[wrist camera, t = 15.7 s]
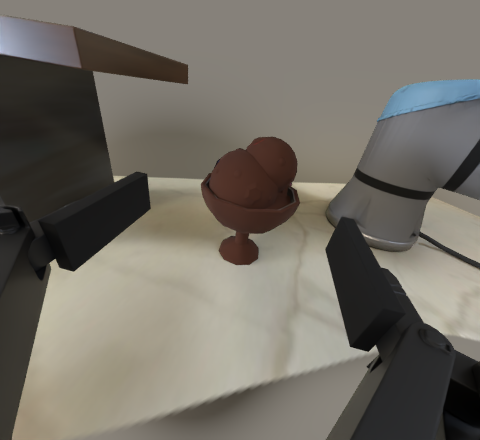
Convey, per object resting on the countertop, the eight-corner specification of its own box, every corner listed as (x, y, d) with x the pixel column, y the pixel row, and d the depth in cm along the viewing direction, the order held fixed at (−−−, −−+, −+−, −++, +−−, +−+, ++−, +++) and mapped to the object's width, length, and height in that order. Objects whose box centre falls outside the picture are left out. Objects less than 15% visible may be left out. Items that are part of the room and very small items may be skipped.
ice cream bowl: (251, 222, 34) (271, 126, 26) (294, 269, 27) (342, 152, 19) (188, 233, 29) (190, 119, 21) (220, 295, 22) (241, 151, 14)
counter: (186, 207, 36) (188, 64, 25) (126, 273, 22) (73, 26, 11) (97, 186, 37) (63, 43, 26) (-10, 237, 24) (-169, -13, 13)
